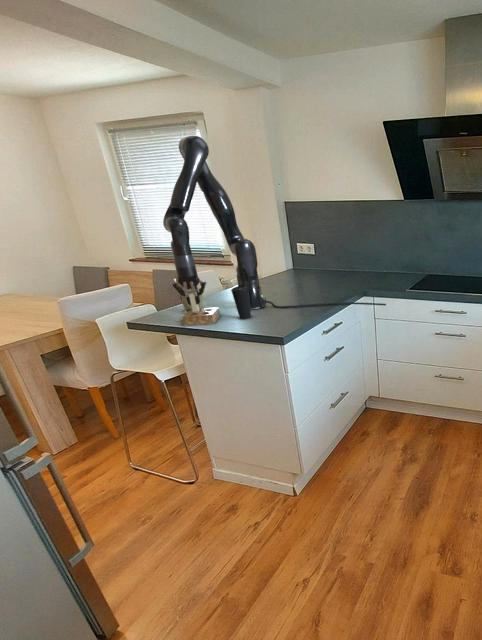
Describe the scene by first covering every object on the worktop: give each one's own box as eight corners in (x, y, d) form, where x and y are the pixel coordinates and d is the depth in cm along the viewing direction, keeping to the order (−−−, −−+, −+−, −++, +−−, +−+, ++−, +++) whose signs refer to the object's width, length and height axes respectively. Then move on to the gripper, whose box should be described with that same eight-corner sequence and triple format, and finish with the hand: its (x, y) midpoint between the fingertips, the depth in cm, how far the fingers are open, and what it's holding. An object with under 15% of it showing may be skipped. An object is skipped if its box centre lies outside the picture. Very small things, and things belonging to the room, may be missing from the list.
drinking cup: (237, 321, 171) (228, 276, 162) (235, 316, 177) (226, 273, 168) (255, 318, 174) (247, 274, 166) (253, 314, 180) (245, 271, 172)
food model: (206, 306, 192) (197, 266, 183) (203, 310, 186) (193, 269, 178) (184, 308, 189) (174, 267, 181) (181, 312, 183) (170, 270, 175)
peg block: (220, 315, 178) (218, 307, 177) (214, 323, 167) (212, 314, 166) (192, 317, 176) (190, 309, 174) (184, 325, 165) (181, 316, 163)
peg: (200, 312, 173) (195, 292, 170) (198, 313, 171) (194, 293, 168) (194, 312, 173) (190, 292, 169) (193, 313, 171) (188, 294, 167)
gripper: (164, 267, 159) (174, 307, 166) (200, 266, 161) (209, 305, 168) (170, 264, 165) (180, 303, 172) (205, 263, 168) (213, 301, 175)
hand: (194, 304), depth 170 cm, fingers closed on peg, 2 cm apart
